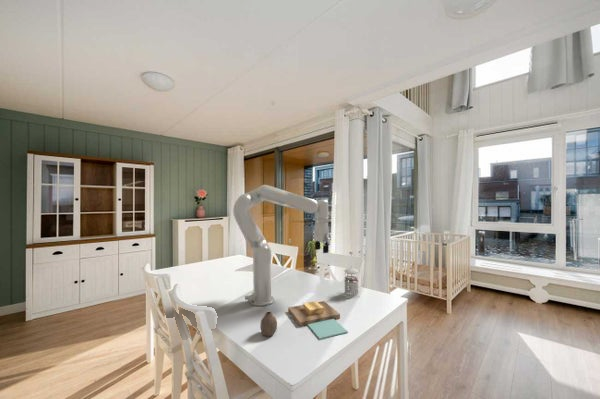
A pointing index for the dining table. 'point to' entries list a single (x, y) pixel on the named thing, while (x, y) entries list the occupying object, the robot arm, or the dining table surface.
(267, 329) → the vase
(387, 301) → the dining table surface
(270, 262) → the robot arm
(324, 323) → the mat
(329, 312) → the wooden board
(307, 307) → the yellow flat block
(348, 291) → the french press
